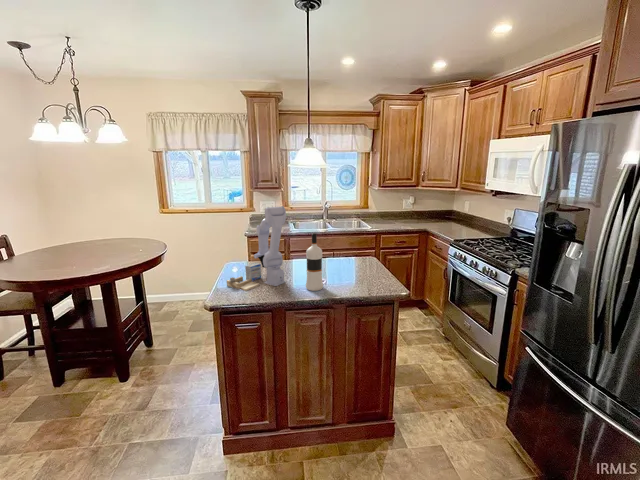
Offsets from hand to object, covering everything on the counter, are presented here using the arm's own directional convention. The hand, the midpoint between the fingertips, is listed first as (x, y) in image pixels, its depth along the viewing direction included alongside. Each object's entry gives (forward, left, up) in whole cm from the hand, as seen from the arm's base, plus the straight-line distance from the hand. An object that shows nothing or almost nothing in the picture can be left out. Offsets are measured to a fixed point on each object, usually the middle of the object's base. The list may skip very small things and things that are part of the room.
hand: (264, 267), depth 192 cm
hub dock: (-3, +20, -5) cm, 21 cm away
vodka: (-38, +1, -5) cm, 38 cm away
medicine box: (0, +9, -5) cm, 10 cm away
